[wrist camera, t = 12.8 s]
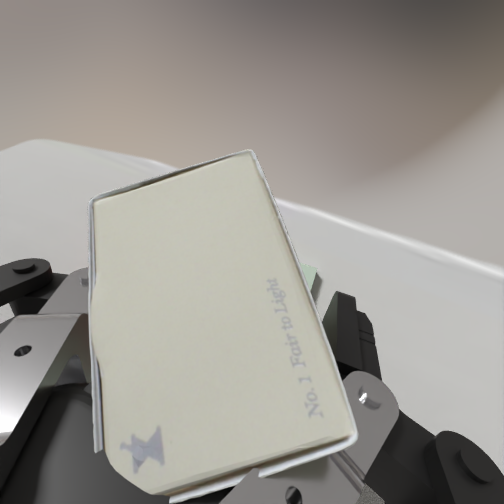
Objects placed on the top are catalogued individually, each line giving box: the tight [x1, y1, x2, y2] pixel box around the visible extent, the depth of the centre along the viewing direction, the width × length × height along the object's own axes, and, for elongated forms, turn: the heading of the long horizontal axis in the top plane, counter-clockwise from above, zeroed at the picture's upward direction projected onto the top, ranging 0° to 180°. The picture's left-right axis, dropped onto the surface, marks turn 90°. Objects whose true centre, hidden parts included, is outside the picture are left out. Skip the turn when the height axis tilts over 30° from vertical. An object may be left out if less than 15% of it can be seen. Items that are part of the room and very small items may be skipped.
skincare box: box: [87, 149, 359, 504], centre depth 10 cm, size 6×4×12 cm
